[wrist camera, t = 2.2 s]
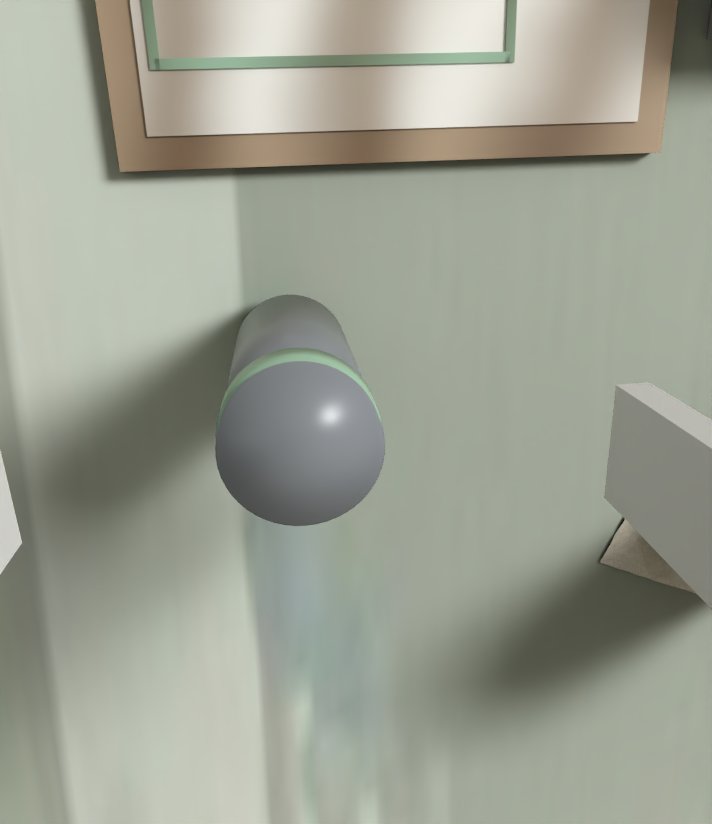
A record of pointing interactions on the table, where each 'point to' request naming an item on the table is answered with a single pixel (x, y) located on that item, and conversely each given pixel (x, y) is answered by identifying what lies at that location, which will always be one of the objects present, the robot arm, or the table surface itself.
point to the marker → (297, 417)
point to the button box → (710, 25)
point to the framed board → (382, 80)
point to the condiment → (640, 558)
